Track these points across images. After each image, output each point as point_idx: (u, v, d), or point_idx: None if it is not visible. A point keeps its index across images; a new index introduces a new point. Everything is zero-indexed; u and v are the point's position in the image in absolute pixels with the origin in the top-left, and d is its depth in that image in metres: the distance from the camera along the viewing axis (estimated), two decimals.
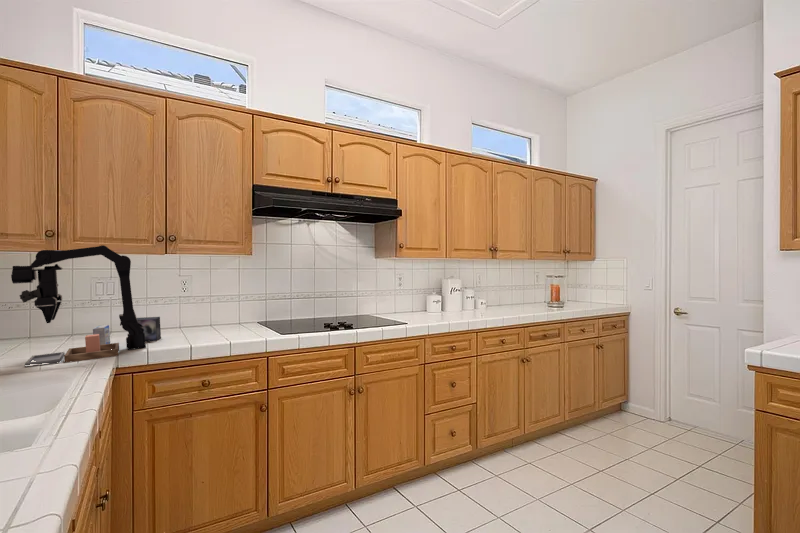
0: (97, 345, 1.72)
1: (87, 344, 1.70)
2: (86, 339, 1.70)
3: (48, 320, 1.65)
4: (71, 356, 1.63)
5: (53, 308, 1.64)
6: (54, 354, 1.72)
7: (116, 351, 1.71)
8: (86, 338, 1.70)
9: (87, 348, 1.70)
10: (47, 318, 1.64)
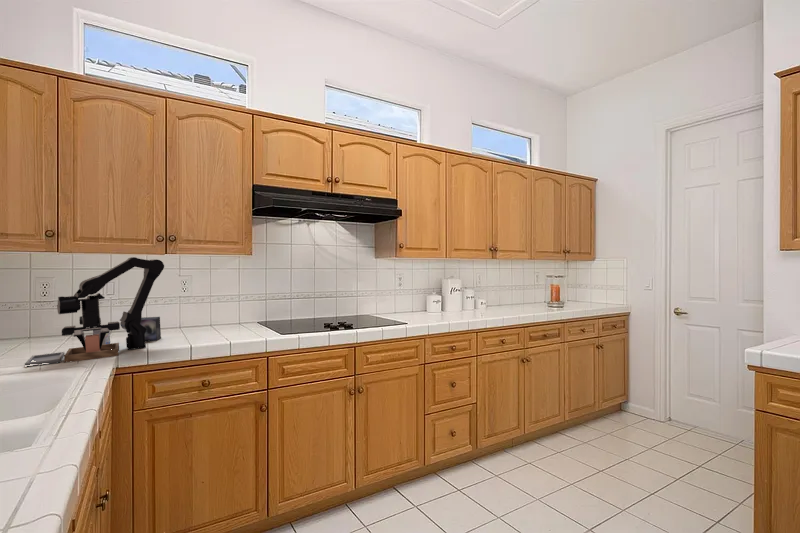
0: (97, 345, 1.72)
1: (87, 344, 1.70)
2: (86, 339, 1.70)
3: None
4: (71, 356, 1.63)
5: None
6: (54, 354, 1.72)
7: (116, 351, 1.71)
8: (86, 338, 1.70)
9: (87, 348, 1.70)
10: None
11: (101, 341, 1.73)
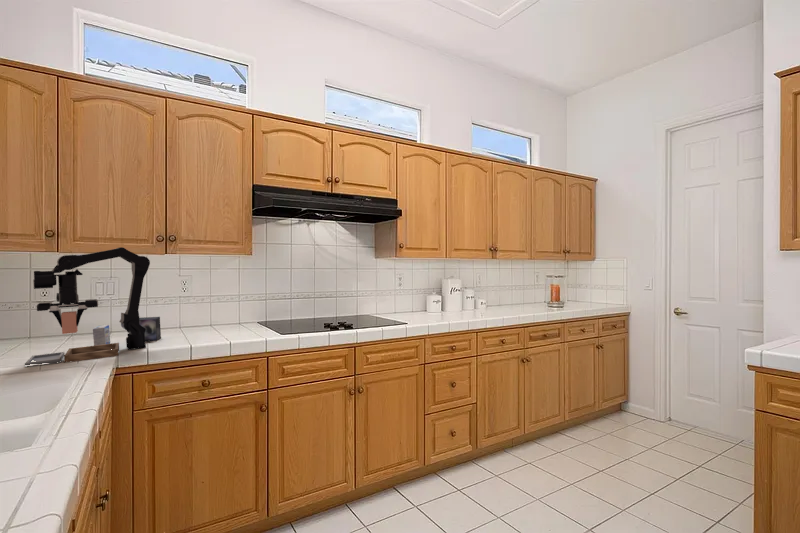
0: (74, 322, 1.68)
1: (63, 321, 1.66)
2: (62, 315, 1.66)
3: None
4: (71, 356, 1.63)
5: None
6: (54, 354, 1.72)
7: (116, 351, 1.71)
8: (62, 314, 1.66)
9: (63, 325, 1.66)
10: None
11: (78, 318, 1.69)
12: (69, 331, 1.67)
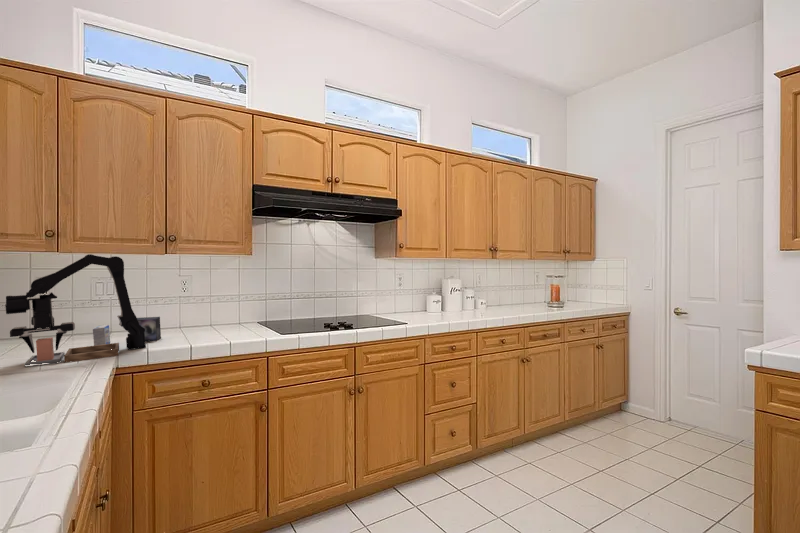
0: (49, 349, 1.64)
1: (38, 348, 1.62)
2: (37, 343, 1.62)
3: None
4: (71, 356, 1.63)
5: None
6: (54, 354, 1.72)
7: (116, 351, 1.71)
8: (37, 342, 1.62)
9: (38, 352, 1.62)
10: None
11: (57, 342, 1.66)
12: (44, 359, 1.63)
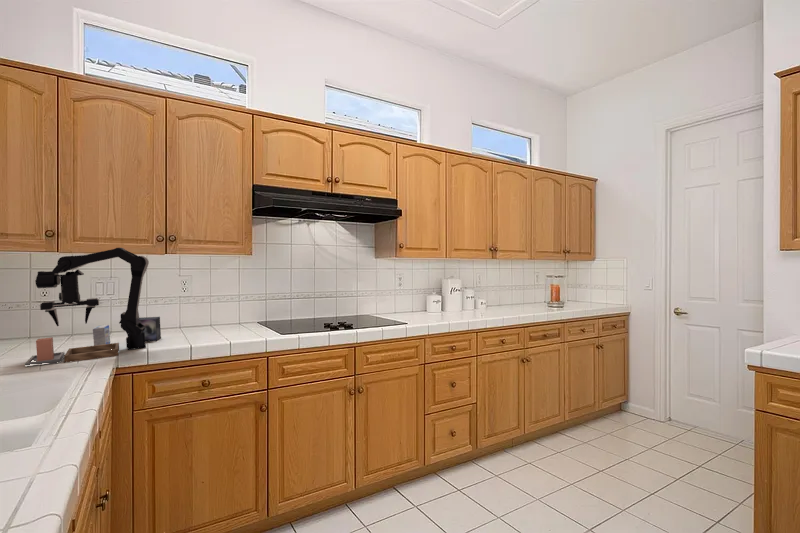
0: (49, 349, 1.64)
1: (38, 348, 1.62)
2: (37, 343, 1.62)
3: None
4: (71, 356, 1.63)
5: None
6: (54, 354, 1.72)
7: (116, 351, 1.71)
8: (37, 342, 1.62)
9: (38, 352, 1.62)
10: None
11: (87, 316, 1.77)
12: (44, 359, 1.63)
